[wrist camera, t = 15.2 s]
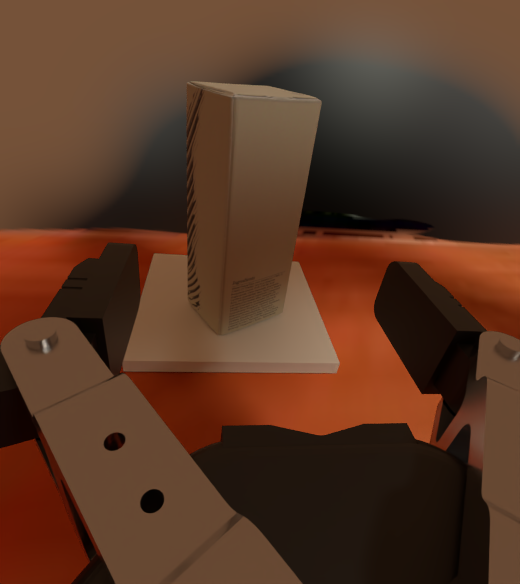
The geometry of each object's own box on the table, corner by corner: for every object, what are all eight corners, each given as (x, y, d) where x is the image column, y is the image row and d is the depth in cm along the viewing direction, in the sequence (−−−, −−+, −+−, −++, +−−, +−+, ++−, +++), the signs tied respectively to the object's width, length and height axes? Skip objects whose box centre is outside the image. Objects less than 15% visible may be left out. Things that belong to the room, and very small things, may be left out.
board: (297, 269, 31) (298, 261, 30) (336, 373, 21) (339, 363, 20) (154, 261, 29) (154, 253, 28) (123, 371, 19) (121, 360, 18)
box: (247, 283, 26) (272, 85, 19) (284, 316, 23) (329, 98, 16) (181, 302, 23) (182, 76, 16) (215, 341, 21) (233, 90, 14)
